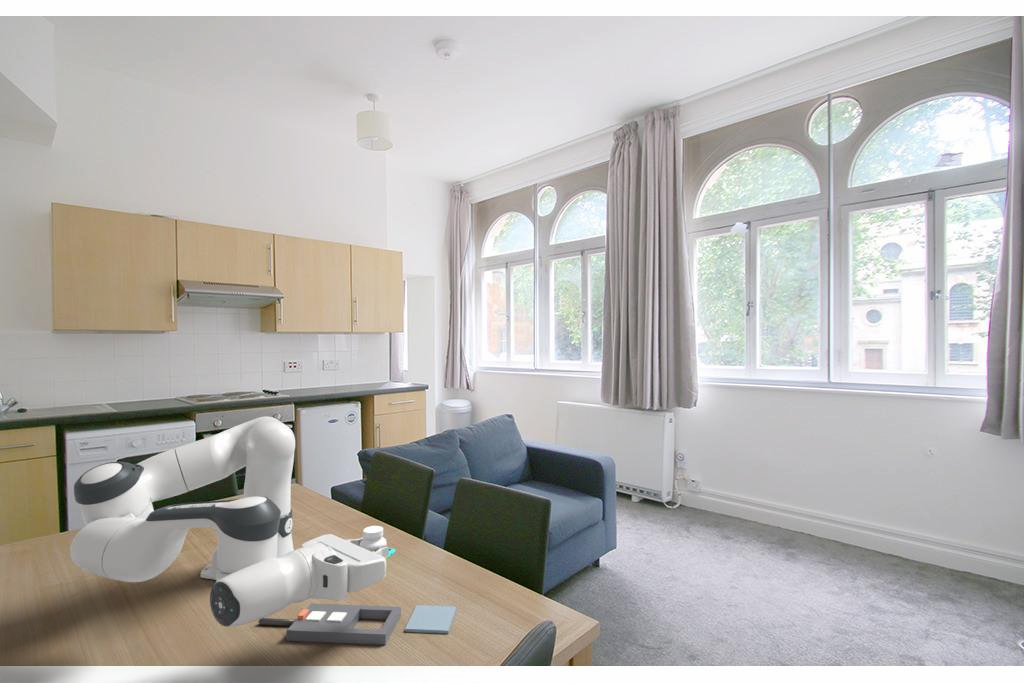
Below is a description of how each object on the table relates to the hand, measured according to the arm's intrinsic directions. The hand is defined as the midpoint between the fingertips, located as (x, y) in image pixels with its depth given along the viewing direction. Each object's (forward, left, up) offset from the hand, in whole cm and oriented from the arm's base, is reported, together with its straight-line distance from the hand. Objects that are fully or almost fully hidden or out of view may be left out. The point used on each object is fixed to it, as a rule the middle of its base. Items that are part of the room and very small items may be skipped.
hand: (376, 545), depth 100 cm
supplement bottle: (-1, -1, -6) cm, 6 cm away
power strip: (-10, -1, -17) cm, 20 cm away
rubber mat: (+11, +3, -17) cm, 20 cm away
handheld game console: (-17, +34, -18) cm, 42 cm away
